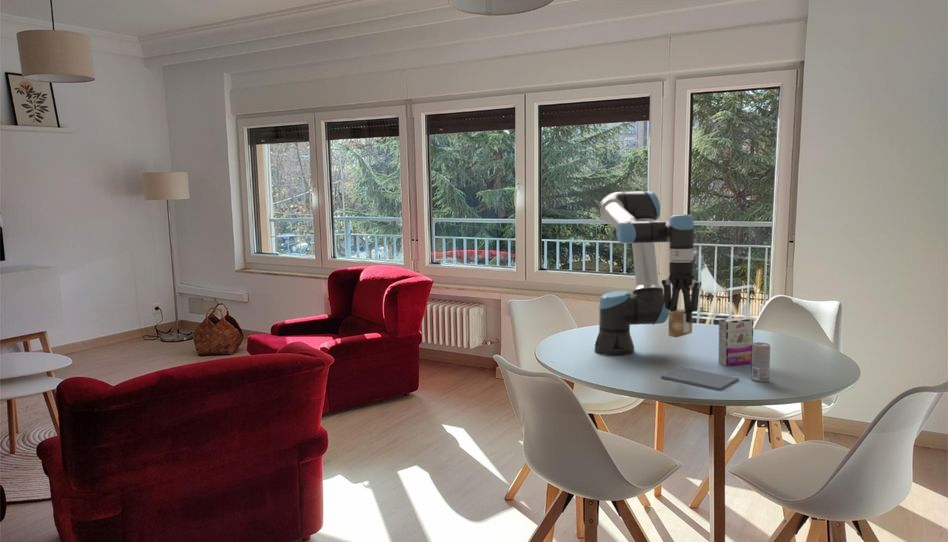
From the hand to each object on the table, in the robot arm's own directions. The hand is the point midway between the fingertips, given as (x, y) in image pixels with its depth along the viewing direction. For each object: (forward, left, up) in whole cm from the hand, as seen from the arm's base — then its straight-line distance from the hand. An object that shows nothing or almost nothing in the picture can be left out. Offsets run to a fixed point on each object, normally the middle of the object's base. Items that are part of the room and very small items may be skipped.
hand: (680, 331), depth 209 cm
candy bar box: (+7, +27, -16) cm, 32 cm away
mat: (+6, +1, -16) cm, 17 cm away
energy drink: (+21, +13, -16) cm, 30 cm away
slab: (0, 0, -1) cm, 1 cm away
